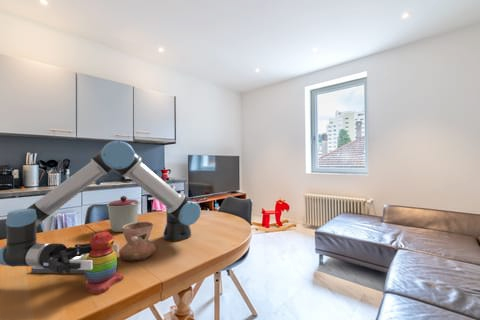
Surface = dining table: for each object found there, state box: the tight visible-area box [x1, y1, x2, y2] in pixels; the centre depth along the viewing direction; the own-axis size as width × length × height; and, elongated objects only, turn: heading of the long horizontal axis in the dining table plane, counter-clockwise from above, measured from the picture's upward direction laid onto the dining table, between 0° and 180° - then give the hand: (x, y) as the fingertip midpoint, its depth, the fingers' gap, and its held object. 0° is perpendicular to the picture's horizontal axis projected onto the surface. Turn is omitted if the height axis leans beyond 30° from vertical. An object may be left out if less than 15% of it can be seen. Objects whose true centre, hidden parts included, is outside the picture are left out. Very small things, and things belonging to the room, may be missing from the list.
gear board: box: [30, 252, 117, 274], centre depth 91 cm, size 24×15×5 cm, turn 87°
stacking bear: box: [84, 229, 124, 295], centre depth 76 cm, size 11×10×18 cm
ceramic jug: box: [118, 221, 156, 262], centre depth 97 cm, size 18×14×14 cm
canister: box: [106, 195, 140, 233], centre depth 136 cm, size 18×18×21 cm
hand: (106, 255), depth 75 cm, fingers open, 13 cm apart
